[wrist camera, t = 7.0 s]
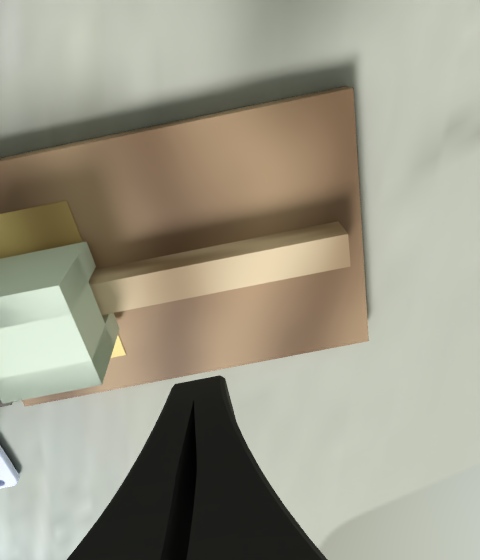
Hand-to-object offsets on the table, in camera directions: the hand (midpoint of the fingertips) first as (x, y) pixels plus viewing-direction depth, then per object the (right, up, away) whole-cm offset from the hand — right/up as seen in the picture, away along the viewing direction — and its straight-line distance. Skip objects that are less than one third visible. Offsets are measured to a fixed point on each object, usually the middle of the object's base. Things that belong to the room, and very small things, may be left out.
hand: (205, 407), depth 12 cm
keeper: (-7, +3, +8) cm, 11 cm away
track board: (-3, +4, +9) cm, 10 cm away
